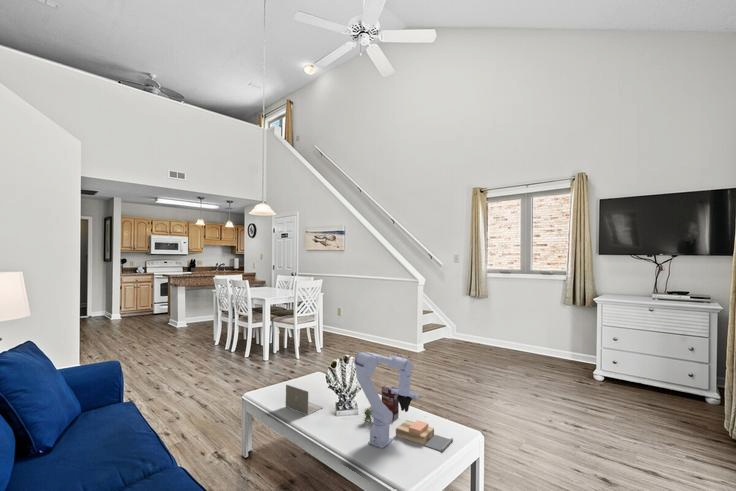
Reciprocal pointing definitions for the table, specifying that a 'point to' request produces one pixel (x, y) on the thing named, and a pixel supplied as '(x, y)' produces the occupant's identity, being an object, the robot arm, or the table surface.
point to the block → (418, 427)
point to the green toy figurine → (367, 415)
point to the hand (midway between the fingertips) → (404, 410)
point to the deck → (421, 439)
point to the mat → (438, 443)
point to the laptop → (299, 401)
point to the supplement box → (390, 400)
